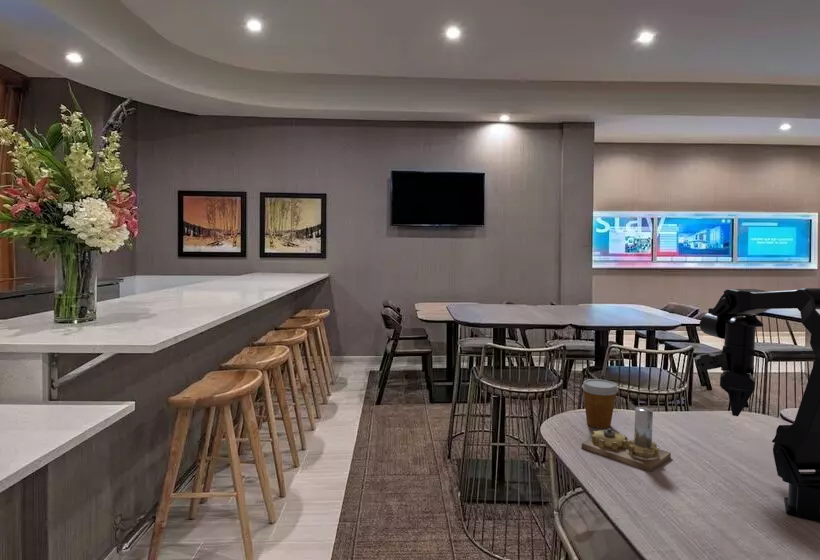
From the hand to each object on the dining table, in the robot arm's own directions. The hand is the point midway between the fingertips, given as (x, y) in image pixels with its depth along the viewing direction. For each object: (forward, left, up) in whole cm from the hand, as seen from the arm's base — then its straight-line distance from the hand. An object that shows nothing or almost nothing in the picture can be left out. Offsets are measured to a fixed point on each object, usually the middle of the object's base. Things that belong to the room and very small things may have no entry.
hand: (735, 410), depth 112 cm
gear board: (-8, +22, -13) cm, 27 cm away
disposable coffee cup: (+8, +32, -13) cm, 36 cm away
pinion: (-9, +18, -12) cm, 23 cm away
